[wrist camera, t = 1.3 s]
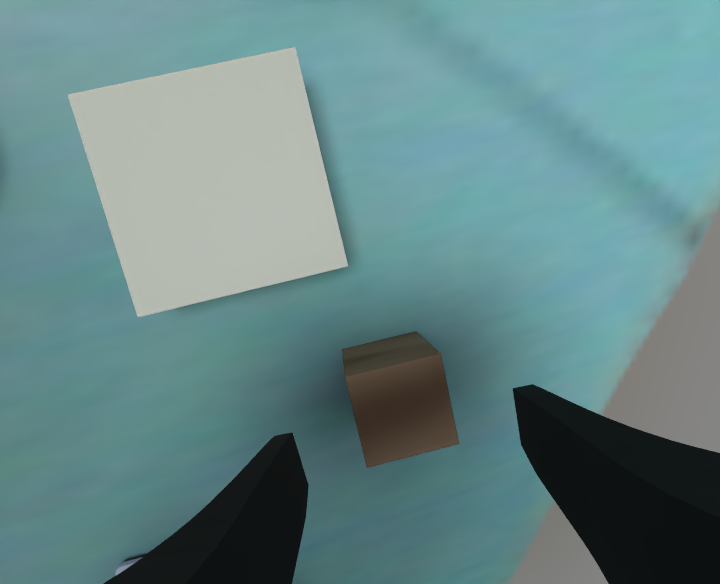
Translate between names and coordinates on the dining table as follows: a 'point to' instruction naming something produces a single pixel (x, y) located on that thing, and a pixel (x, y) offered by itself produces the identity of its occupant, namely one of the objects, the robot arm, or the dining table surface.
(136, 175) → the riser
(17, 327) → the dining table surface
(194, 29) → the dining table surface
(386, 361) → the walnut block
